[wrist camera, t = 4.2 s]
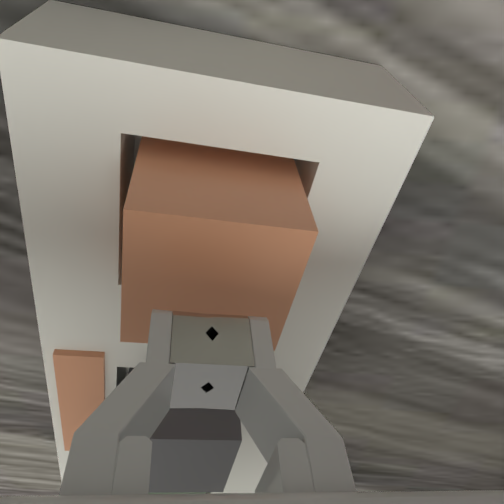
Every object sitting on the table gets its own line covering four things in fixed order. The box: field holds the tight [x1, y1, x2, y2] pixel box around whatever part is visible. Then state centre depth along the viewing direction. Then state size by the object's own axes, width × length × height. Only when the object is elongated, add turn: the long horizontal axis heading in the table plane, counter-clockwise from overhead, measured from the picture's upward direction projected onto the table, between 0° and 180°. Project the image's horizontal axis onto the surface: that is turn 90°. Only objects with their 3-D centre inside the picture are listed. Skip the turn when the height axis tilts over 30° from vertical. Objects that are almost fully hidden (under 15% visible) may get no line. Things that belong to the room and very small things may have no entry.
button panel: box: [0, 0, 434, 494], centre depth 23 cm, size 12×32×5 cm, turn 168°
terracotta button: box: [120, 136, 319, 351], centre depth 14 cm, size 5×5×5 cm
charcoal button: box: [128, 367, 242, 493], centre depth 21 cm, size 5×5×5 cm
